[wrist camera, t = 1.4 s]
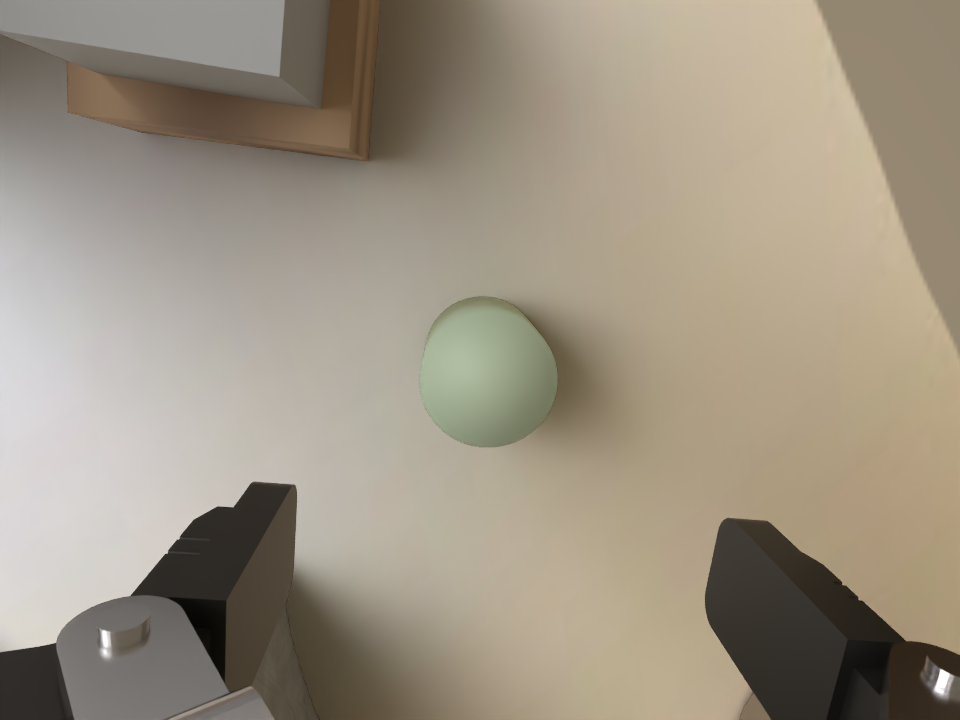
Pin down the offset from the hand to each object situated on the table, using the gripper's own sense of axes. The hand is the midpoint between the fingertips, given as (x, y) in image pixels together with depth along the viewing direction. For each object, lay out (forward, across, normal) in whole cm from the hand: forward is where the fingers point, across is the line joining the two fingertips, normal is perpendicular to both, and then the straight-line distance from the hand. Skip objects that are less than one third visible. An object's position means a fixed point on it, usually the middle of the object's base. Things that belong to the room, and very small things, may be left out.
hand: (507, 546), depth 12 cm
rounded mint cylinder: (+16, 0, 0) cm, 16 cm away
